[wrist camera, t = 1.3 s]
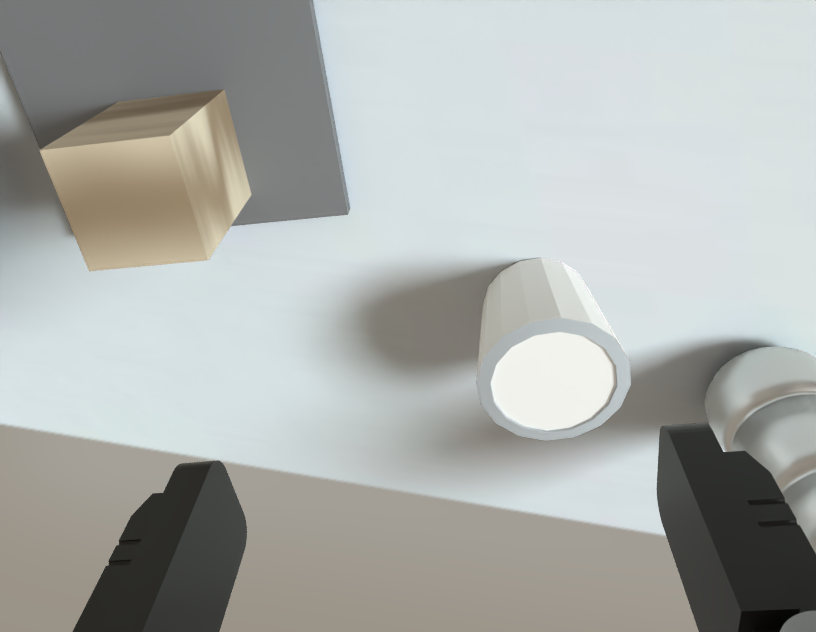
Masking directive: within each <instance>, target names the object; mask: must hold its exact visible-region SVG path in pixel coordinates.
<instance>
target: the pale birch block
mask: <svg viewBox="0 0 816 632" xmlns="http://www.w3.org/2000/svg"><path fill="white" fill-rule="evenodd" d="M39 151H40V153H41V156H42V158H43V161H44V163H45V165H46V168H47V170H48V173H49V175H50V178H51V180H52V182H53V185H54V187H55V190H56V192H57V195H58V197H59V199H60V202H61V204H62V207H63V209H64V211H65V214H66V216H67V219H68V221H69V224H70V226H71V228H72V231H73V233H74V236H75V238H76V240H77V243H78V245H79V248H80V250H81V253H82V255H83V257H84V260H85V262H86V265H87V267H88V269H89V271H96V270H107V269H118V268H129V267H140V266H150V265H161V264H172V263H183V262H194V261H204V260H209V258H210V257H211V255H212V254H213V252H214V251H215V249H216V248H217V246H218V245H219V243H220V242H221V240H222V239H223V237H224V236H225V234H226V233H227V231H228V230H229V228H230V226H231V225H232V223H233V222H234V220H235V219H236V217H237V216H238V214H239V213H240V211H241V210H242V208H243V207H244V205H245V204H246V202H247V201H248V199H249V198H250V196H251V191H250V187H249V183H248V179H247V175H246V171H245V168H244V164H243V160H242V156H241V152H240V148H239V144H238V140H237V136H236V133H235V129H234V125H233V121H232V117H231V113H230V109H229V105H228V101H227V98H226V94H225V90H224V89H222V90H214V91H205V92H197V93H189V94H180V95H172V96H164V97H155V98H147V99H139V100H130V101H122V102H117V103H116V104H114V105H112V106H111V107H109V108H107V109H106V110H104V111H103V112H101V113H99V114H98V115H96V116H94V117H93V118H91V119H90V120H88V121H86V122H85V123H83V124H81V125H80V126H78V127H76V128H75V129H73V130H72V131H70V132H68V133H67V134H65V135H63V136H62V137H60V138H59V139H57V140H55V141H54V142H52V143H50V144H49V145H47V146H45V147H44V148H42V149H41V150H39Z"/></svg>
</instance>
